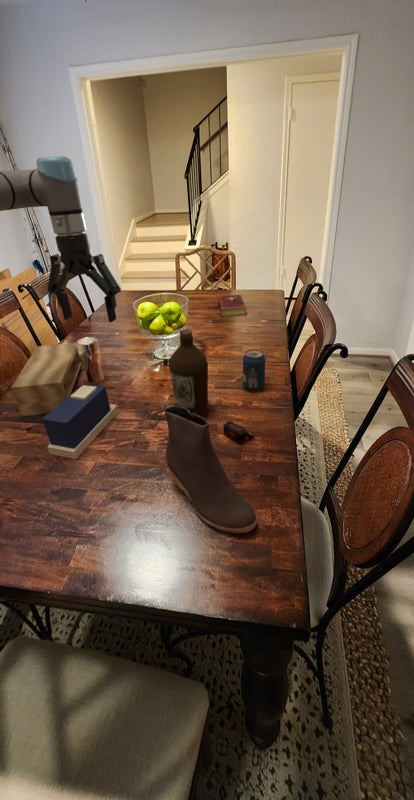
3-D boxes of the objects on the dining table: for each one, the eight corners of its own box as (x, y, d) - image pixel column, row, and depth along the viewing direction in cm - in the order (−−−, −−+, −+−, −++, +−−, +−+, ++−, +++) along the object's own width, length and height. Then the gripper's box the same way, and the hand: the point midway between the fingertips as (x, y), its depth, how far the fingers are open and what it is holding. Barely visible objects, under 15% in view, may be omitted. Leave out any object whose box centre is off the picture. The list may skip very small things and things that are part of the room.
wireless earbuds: (242, 446, 94) (242, 436, 93) (222, 435, 99) (222, 425, 97) (254, 438, 97) (254, 428, 95) (234, 427, 101) (234, 417, 100)
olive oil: (186, 398, 115) (179, 322, 102) (216, 406, 111) (213, 327, 98) (167, 416, 108) (157, 335, 94) (199, 425, 103) (192, 342, 90)
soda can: (258, 380, 123) (258, 347, 117) (268, 389, 118) (269, 355, 111) (239, 384, 121) (239, 351, 115) (248, 394, 116) (249, 360, 109)
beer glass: (91, 387, 124) (80, 346, 116) (82, 380, 129) (72, 340, 121) (109, 380, 128) (101, 340, 120) (100, 374, 133) (92, 334, 125)
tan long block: (21, 416, 112) (10, 387, 106) (45, 371, 137) (37, 346, 132) (69, 411, 113) (60, 382, 108) (83, 367, 138) (77, 342, 133)
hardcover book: (221, 316, 178) (221, 308, 176) (218, 303, 196) (218, 295, 194) (246, 315, 178) (246, 306, 176) (241, 301, 196) (241, 294, 194)
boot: (237, 550, 69) (236, 469, 58) (157, 486, 84) (145, 413, 73) (266, 522, 74) (270, 443, 63) (186, 467, 89) (178, 395, 78)
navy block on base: (76, 459, 93) (64, 422, 87) (49, 454, 96) (36, 418, 90) (118, 411, 111) (111, 378, 105) (95, 408, 113) (87, 376, 107)
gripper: (17, 236, 89) (42, 321, 100) (109, 235, 82) (125, 326, 93) (37, 232, 95) (59, 312, 106) (125, 230, 88) (138, 316, 99)
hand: (90, 319), depth 100 cm, fingers open, 13 cm apart
